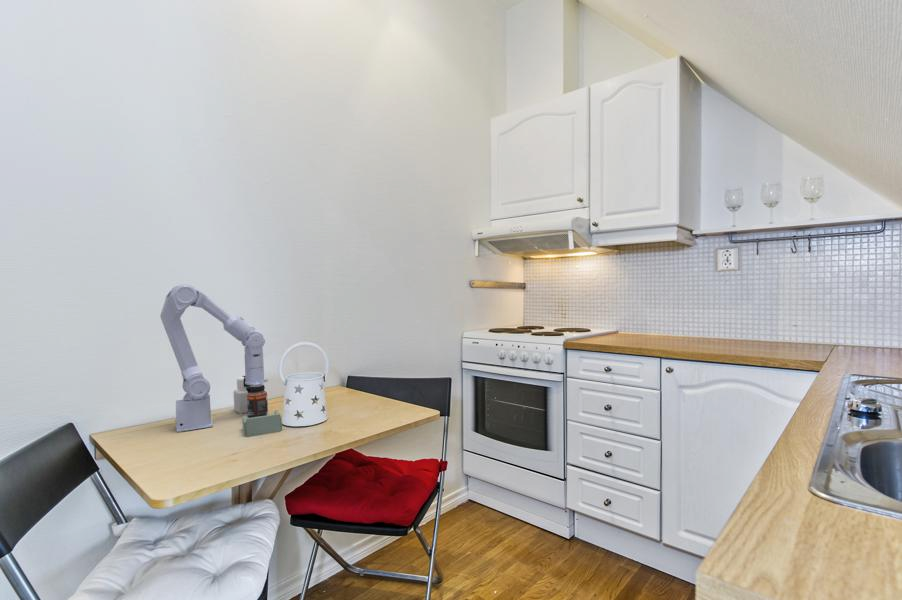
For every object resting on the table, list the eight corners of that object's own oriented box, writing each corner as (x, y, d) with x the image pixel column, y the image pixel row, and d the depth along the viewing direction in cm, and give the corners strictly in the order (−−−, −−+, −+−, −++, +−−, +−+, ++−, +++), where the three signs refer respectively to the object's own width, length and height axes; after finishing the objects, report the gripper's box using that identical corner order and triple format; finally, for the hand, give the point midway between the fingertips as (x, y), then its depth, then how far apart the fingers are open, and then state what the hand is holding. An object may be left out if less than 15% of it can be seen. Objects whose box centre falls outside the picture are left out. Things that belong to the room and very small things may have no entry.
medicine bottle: (255, 406, 163) (253, 373, 163) (261, 410, 158) (259, 376, 158) (234, 410, 159) (232, 376, 159) (239, 414, 153) (238, 379, 153)
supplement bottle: (272, 418, 146) (271, 383, 146) (260, 423, 141) (258, 387, 140) (256, 417, 148) (255, 383, 148) (244, 422, 142) (242, 387, 142)
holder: (245, 437, 127) (244, 419, 127) (242, 428, 135) (242, 412, 135) (282, 431, 132) (281, 414, 132) (278, 423, 140) (277, 407, 140)
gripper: (269, 368, 146) (271, 410, 146) (264, 363, 159) (266, 401, 159) (245, 371, 142) (247, 414, 143) (242, 365, 155) (244, 404, 155)
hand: (256, 407), depth 150 cm, fingers closed
